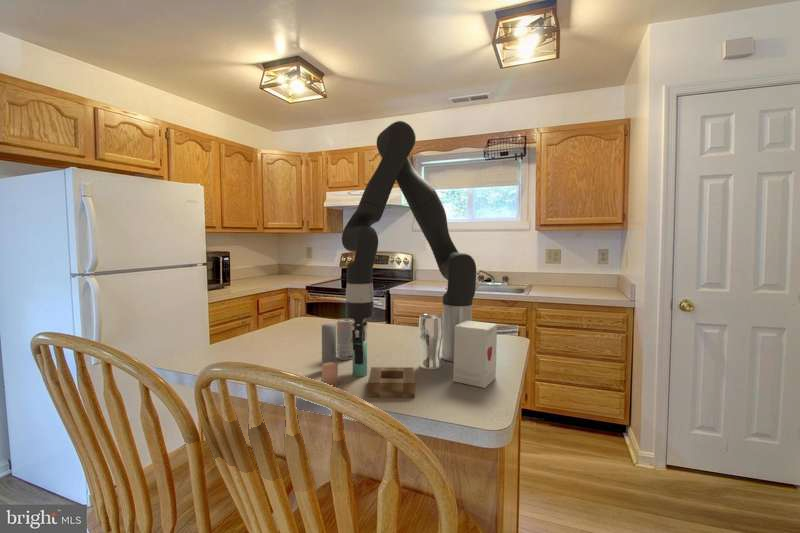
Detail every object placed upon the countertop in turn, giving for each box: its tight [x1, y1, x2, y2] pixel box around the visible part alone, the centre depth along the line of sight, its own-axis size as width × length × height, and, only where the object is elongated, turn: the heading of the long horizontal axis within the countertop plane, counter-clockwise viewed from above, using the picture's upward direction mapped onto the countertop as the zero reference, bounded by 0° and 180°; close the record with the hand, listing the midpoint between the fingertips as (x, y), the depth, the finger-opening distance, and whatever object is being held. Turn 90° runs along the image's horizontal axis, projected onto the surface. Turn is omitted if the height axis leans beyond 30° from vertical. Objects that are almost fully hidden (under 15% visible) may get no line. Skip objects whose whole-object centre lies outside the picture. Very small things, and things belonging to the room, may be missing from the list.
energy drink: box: [336, 318, 355, 361], centre depth 119 cm, size 5×5×12 cm
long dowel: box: [321, 323, 337, 365], centre depth 107 cm, size 4×4×13 cm
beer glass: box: [418, 313, 443, 371], centre depth 111 cm, size 7×7×15 cm
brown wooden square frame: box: [367, 366, 416, 398], centre depth 95 cm, size 11×11×4 cm
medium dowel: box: [352, 340, 368, 378], centre depth 104 cm, size 4×4×9 cm
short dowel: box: [321, 362, 339, 387], centre depth 97 cm, size 4×4×5 cm
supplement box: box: [452, 320, 498, 389], centre depth 100 cm, size 9×9×15 cm
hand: (359, 360), depth 104 cm, fingers closed on medium dowel, 4 cm apart
